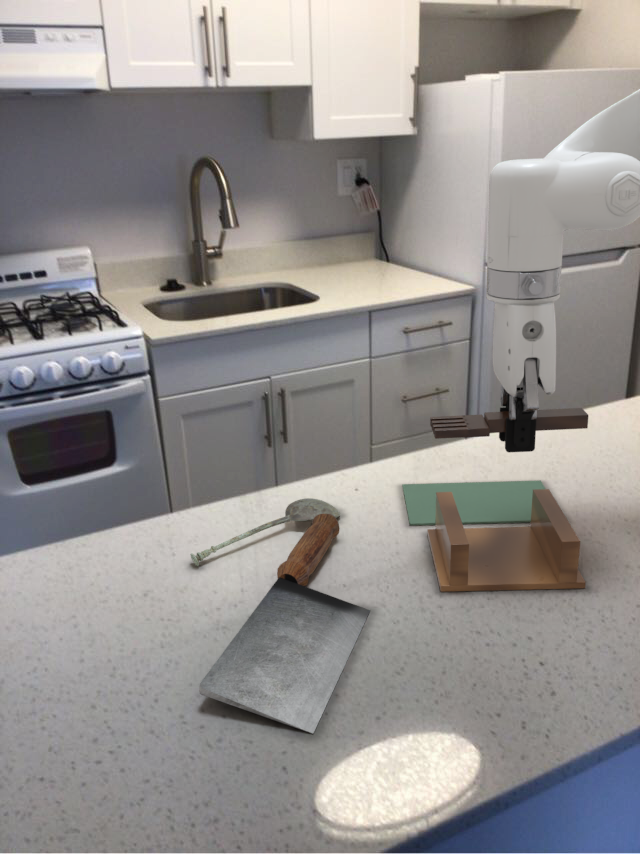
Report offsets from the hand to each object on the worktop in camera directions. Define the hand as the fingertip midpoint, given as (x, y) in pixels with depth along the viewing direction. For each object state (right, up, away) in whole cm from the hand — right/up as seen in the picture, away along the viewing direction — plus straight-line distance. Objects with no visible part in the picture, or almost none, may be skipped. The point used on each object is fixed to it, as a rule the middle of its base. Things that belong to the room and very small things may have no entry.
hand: (516, 444), depth 86 cm
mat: (0, -9, +18) cm, 20 cm away
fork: (-1, +2, -1) cm, 2 cm away
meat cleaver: (-23, -18, -4) cm, 30 cm away
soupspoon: (-29, -12, +12) cm, 34 cm away
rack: (-1, -14, +4) cm, 15 cm away
